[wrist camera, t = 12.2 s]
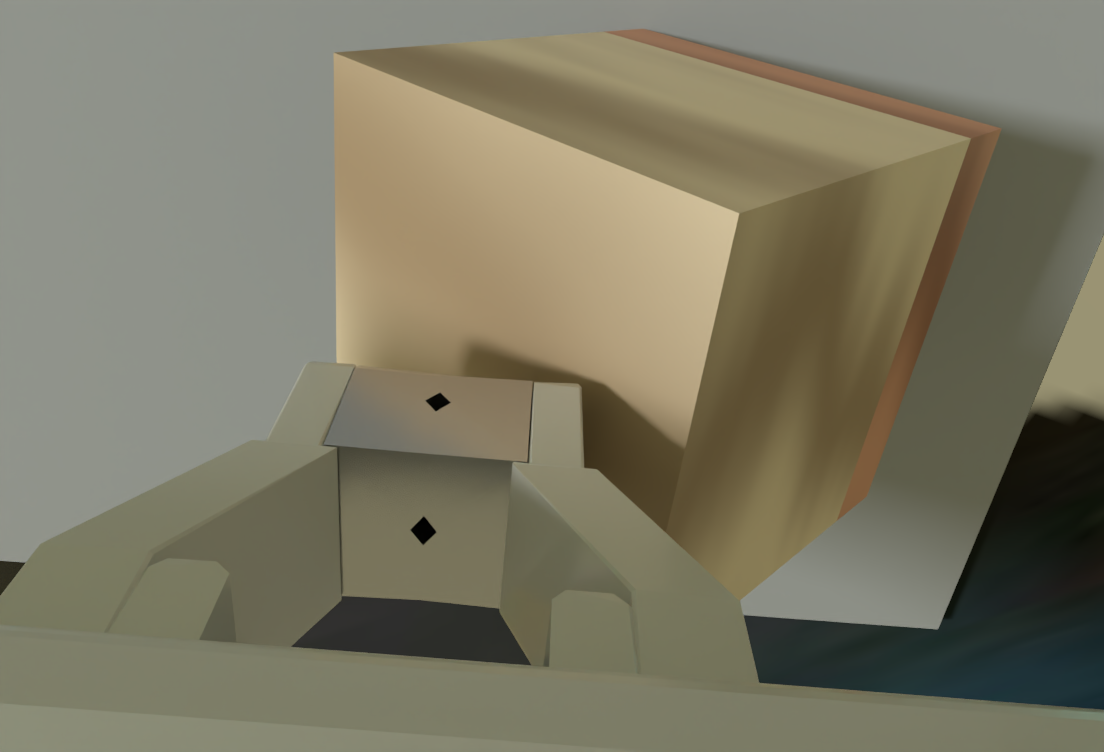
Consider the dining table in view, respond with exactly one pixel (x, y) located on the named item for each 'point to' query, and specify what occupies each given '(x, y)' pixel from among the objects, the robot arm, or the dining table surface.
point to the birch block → (657, 260)
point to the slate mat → (310, 262)
